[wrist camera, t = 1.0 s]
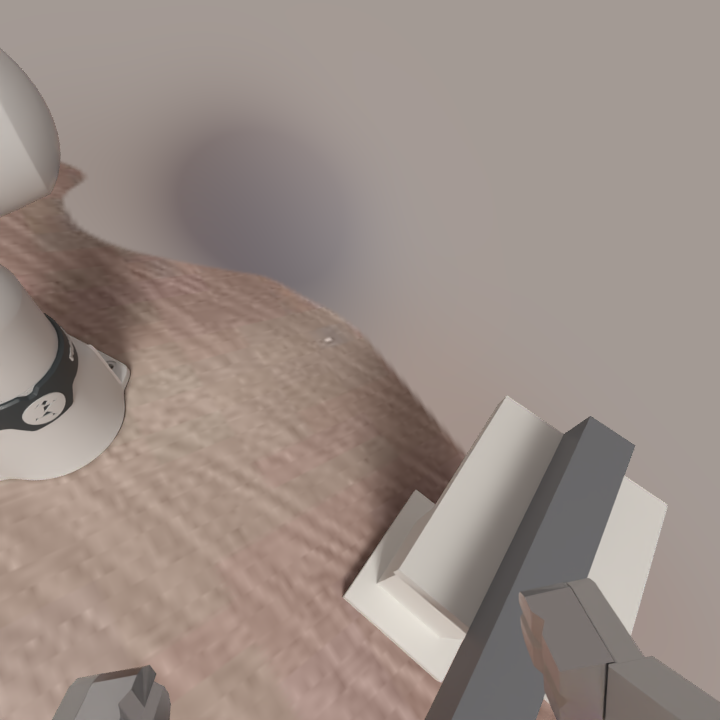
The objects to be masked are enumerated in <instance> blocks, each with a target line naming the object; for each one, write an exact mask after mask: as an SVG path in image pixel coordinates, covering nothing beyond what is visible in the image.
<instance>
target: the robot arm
mask: <svg viewBox="0 0 720 720" xmlns="http://www.w3.org/2000/svg"><path fill="white" fill-rule="evenodd" d="M59 168H60V143H59V138H58V133H57V129H56V126H55V123H54V120H53V117H52V115H51V113H50V110H49V108H48V106H47V105H46V103H45V101H44V99H43V97H42V96H41V94H40V92H39V91H38V89H37V88H36V86H35V85H34V84H33V82H32V81H31V80H30V78H29V77H28V76H27V74H26V73H25V72H24V71H23V70H22V69H21V68H20V67H19V66H18V64H17V63H16V62H15V61H14V60H13V59H12V58H11V57H10V56H8V55H7V54H6V53H5V52H4V51H3V50H2V49H1V48H0V217H2V216H5V215H7V214H9V213H11V212H14V211H16V210H18V209H20V208H22V207H24V206H26V205H29V204H31V203H33V202H35V201H37V200H39V199H41V198H43V197H45V196H47V195H49V194H50V193H51V192H52V190H53V188H54V186H55V183H56V180H57V177H58V173H59ZM111 367H114V368H113V369H111ZM129 377H130V370H129V369H128V368H127V366H126V365H125V364H123V363H121V362H119V361H117V360H116V359H114V358H112V357H110V356H108V355H106V354H104V353H102V352H101V351H99V350H97V349H95V348H94V347H93V346H92V345H90V344H89V345H87V344H85V343H84V342H82V341H80V340H78V339H76V338H74V337H72V336H70V335H69V334H67V333H66V332H65V331H64V329H63V328H62V327H61V326H59V325H58V324H57V323H56V322H55V321H54V320H53V319H52V318H51V317H49V316H48V315H47V314H45V313H43V312H42V311H41V309H40V308H39V307H38V306H37V304H36V303H35V302H34V300H33V299H32V298H31V296H30V295H29V294H28V292H27V291H26V290H25V289H24V287H23V286H22V285H21V283H20V282H19V281H18V279H17V278H16V277H15V276H14V274H13V273H11V272H10V271H9V270H8V269H7V268H5V267H4V266H2V265H1V264H0V481H2V480H5V479H24V480H45V479H51V478H56V477H60V476H63V475H66V474H69V473H71V472H74V471H76V470H78V469H80V468H82V467H83V466H85V465H87V464H88V463H90V462H91V461H93V460H94V459H95V458H97V457H98V456H99V455H100V454H101V453H102V452H103V451H104V450H105V449H106V448H107V447H108V446H109V445H110V444H111V442H112V441H113V440H114V438H115V437H116V435H117V433H118V431H119V429H120V427H121V425H122V422H123V418H124V412H125V402H124V389H125V387H126V385H127V382H128V380H129ZM519 604H520V606H521V609H522V611H523V614H522V615H521V616H520V621H521V629H522V633H523V637H524V641H525V644H526V647H527V650H528V652H529V655H530V657H531V660H532V662H533V665H534V667H535V668H537V669H538V670H539V671H540V672H541V673H543V678H544V691H545V694H546V696H547V698H548V701H549V703H550V705H551V708H552V710H553V712H554V715H555V717H556V719H557V720H720V702H719V701H718V700H716V699H715V698H713V697H712V696H710V695H709V694H707V693H706V692H705V691H703V690H702V689H700V688H699V687H697V686H696V685H694V684H693V683H691V682H690V681H688V680H687V679H685V678H684V677H683V676H681V675H680V674H678V673H677V672H675V671H674V670H672V669H671V668H669V667H668V666H666V665H665V664H663V663H662V662H661V661H659V660H658V659H656V658H655V657H653V656H650V657H644V655H643V654H642V652H641V651H640V649H639V648H638V646H637V645H636V643H635V642H634V640H633V639H632V637H631V636H630V634H629V633H628V631H627V630H626V628H625V627H624V625H623V624H622V622H621V621H620V619H619V617H618V616H617V614H616V613H615V611H614V610H613V608H612V607H611V605H610V604H609V602H608V601H607V599H606V598H605V596H604V595H603V593H602V592H601V590H600V589H599V587H598V586H597V584H596V583H595V582H594V581H593V580H591V579H590V578H585V579H580V580H576V581H571V582H566V583H564V582H562V583H558V584H553V585H548V586H544V587H539V588H534V589H530V590H525V591H521V592H520V593H519ZM155 676H156V673H155V672H154V670H153V669H152V668H151V666H150V665H147V666H142V667H136V668H131V669H125V670H120V671H115V672H109V673H102V674H97V675H92V676H87V677H82V678H77V679H76V680H75V682H74V683H73V684H72V685H71V686H70V687H69V688H68V690H67V692H66V694H65V696H64V698H63V700H62V702H61V704H60V706H59V707H58V709H57V711H56V713H55V715H54V717H53V719H52V720H170V706H171V703H170V699H169V694H168V692H167V690H166V689H165V687H164V686H162V685H160V684H158V683H156V682H154V679H155Z"/></svg>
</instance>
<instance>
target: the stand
mask: <svg viewBox="0 0 720 720" xmlns="http://www.w3.org/2000/svg"><path fill="white" fill-rule="evenodd" d="M563 435H564V434H563V433H561V432H560V431H558V430H557V429H555V428H554V427H553V426H551V425H550V424H548V423H547V422H545V421H544V420H542V419H541V418H539V417H537V416H536V415H535V414H533V413H532V412H530V411H529V410H528V409H526V408H525V407H523V406H522V405H520V404H519V403H517V402H516V401H514V400H513V399H511V398H510V397H508V396H506V397H505V398H504V399H503V400H502V401H501V402H500V403H499V404H498V406H497V407H496V409H495V410H494V412H493V413H492V415H491V417H490V418H489V420H488V421H487V423H486V425H485V426H484V428H483V429H482V431H481V433H480V434H479V436H478V438H477V439H476V440H475V442H474V444H473V445H472V447H471V449H470V450H469V452H468V453H467V455H466V456H465V458H464V460H463V461H462V463H461V464H460V466H459V468H458V469H457V471H456V472H455V474H454V476H453V477H452V479H451V480H450V482H449V484H448V485H447V487H446V488H445V490H444V491H443V493H442V495H441V496H440V498H439V499H438V501H437V503H436V504H434V503H433V502H432V501H430V500H429V499H428V498H426V497H425V496H424V495H423V494H421V493H420V492H419V491H417V490H415V491H414V492H413V493H412V495H411V496H410V498H409V499H408V501H407V502H406V504H405V505H404V506H403V508H402V509H401V511H400V512H399V514H398V515H397V517H396V518H395V520H394V521H393V523H392V524H391V526H390V527H389V529H388V530H387V532H386V533H385V535H384V536H383V538H382V539H381V541H380V542H379V544H378V545H377V547H376V548H375V550H374V551H373V553H372V554H371V556H370V557H369V559H368V560H367V561H366V563H365V564H364V566H363V567H362V569H361V570H360V572H359V573H358V575H357V576H356V578H355V579H354V581H353V582H352V584H351V585H350V587H349V588H348V590H347V591H346V593H345V594H344V596H343V598H344V599H345V600H346V601H347V602H348V603H350V604H351V605H352V606H353V607H354V608H355V609H356V610H357V611H359V612H360V613H361V614H362V615H363V616H364V617H365V618H366V619H368V620H369V621H370V622H371V623H372V624H373V625H374V626H376V627H377V628H378V629H379V630H380V631H381V632H382V633H383V634H385V635H386V636H387V637H388V638H389V639H390V640H391V641H392V642H394V643H395V644H396V645H397V646H398V647H399V648H400V649H402V650H403V651H404V652H405V653H406V654H407V655H408V656H409V657H411V658H412V659H413V660H414V661H415V662H416V663H417V664H418V665H420V666H421V667H422V668H423V669H424V670H425V671H426V672H427V673H429V674H430V675H431V676H432V677H433V678H434V679H435V680H437V681H439V682H441V683H442V681H443V679H444V677H445V675H446V673H447V671H448V669H449V667H450V665H451V663H452V661H453V659H454V657H455V655H456V652H457V650H458V648H459V646H460V644H461V642H462V640H464V638H465V636H466V634H467V632H468V630H469V628H470V626H471V624H472V622H473V620H474V618H475V615H476V613H477V611H478V609H479V607H480V605H481V603H482V601H483V599H484V597H485V595H486V593H487V591H488V589H489V587H490V585H491V583H492V581H493V579H494V577H495V574H496V572H497V570H498V568H499V566H500V564H501V562H502V560H503V558H504V556H505V554H506V552H507V550H508V548H509V546H510V544H511V542H512V540H513V538H514V536H515V533H516V531H517V529H518V527H519V525H520V523H521V521H522V519H523V517H524V515H525V513H526V511H527V509H528V507H529V505H530V503H531V501H532V499H533V497H534V494H535V492H536V490H537V488H538V486H539V484H540V482H541V480H542V478H543V476H544V474H545V472H546V470H547V468H548V466H549V464H550V462H551V460H552V458H553V456H554V453H555V451H556V449H557V447H558V445H559V443H560V441H561V439H562V437H563ZM667 506H668V505H667V504H666V503H664V502H663V501H661V500H660V499H658V498H657V497H655V496H654V495H652V494H651V493H649V492H648V491H646V490H645V489H644V488H642V487H641V486H639V485H637V484H636V483H635V482H633V481H632V480H630V479H629V478H627V477H626V476H624V478H623V481H622V483H621V486H620V489H619V492H618V494H617V497H616V500H615V503H614V505H613V508H612V511H611V514H610V516H609V519H608V522H607V525H606V527H605V530H604V533H603V536H602V538H601V541H600V544H599V547H598V549H597V552H596V555H595V558H594V560H593V563H592V566H591V569H590V571H589V574H588V577H587V578H590V579H591V580H593V581H594V582H595V583H596V584H597V586H598V587H599V589H600V590H601V592H602V593H603V595H604V596H605V598H606V599H607V601H608V602H609V604H610V605H611V607H612V608H613V610H614V611H615V613H616V614H617V616H618V617H619V619H620V621H621V622H622V624H623V625H624V627H625V628H626V630H627V631H628V633H629V634H630V636H631V633H632V630H633V626H634V623H635V619H636V616H637V612H638V608H639V605H640V602H641V598H642V594H643V591H644V588H645V583H646V580H647V577H648V573H649V570H650V566H651V563H652V559H653V556H654V552H655V549H656V545H657V541H658V538H659V534H660V531H661V527H662V524H663V520H664V517H665V513H666V510H667ZM543 699H544V700H545V701H547V702H548V703H549V701H548V698H547V696H546V694H545V695H544V698H543ZM549 704H550V703H549Z"/></svg>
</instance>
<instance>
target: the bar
mask: <svg viewBox="0 0 720 720" xmlns="http://www.w3.org/2000/svg"><path fill="white" fill-rule="evenodd" d="M634 447H635V445H634V444H632V443H631V442H629V441H628V440H626V439H624V438H623V437H621V436H620V435H618V434H617V433H615V432H614V431H612V430H611V429H609V428H608V427H606V426H605V425H603V424H602V423H600V422H599V421H597V420H596V419H594V418H593V417H591V416H590V417H588V418H587V419H585V420H584V421H582V422H581V423H580V424H578V425H577V426H575V427H574V428H572V429H571V430H570V431H568V432H566V433H565V434H564V435H563V437H562V439H561V441H560V443H559V445H558V447H557V449H556V451H555V453H554V456H553V458H552V460H551V462H550V464H549V466H548V468H547V470H546V472H545V474H544V476H543V478H542V480H541V482H540V484H539V486H538V488H537V490H536V492H535V494H534V497H533V499H532V501H531V503H530V505H529V507H528V509H527V511H526V513H525V515H524V517H523V519H522V521H521V523H520V525H519V527H518V529H517V531H516V533H515V536H514V538H513V540H512V542H511V544H510V546H509V548H508V550H507V552H506V554H505V556H504V558H503V560H502V562H501V564H500V566H499V568H498V570H497V572H496V574H495V577H494V579H493V581H492V583H491V585H490V587H489V589H488V591H487V593H486V595H485V597H484V599H483V601H482V603H481V605H480V607H479V609H478V611H477V613H476V615H475V618H474V620H473V622H472V624H471V626H470V628H469V630H468V632H467V634H466V636H465V638H464V640H463V642H462V644H461V646H460V648H459V650H458V652H457V654H456V656H455V659H454V661H453V663H452V665H451V667H450V669H449V671H448V673H447V675H446V677H445V679H444V681H443V683H442V685H441V687H440V689H439V691H438V693H437V695H436V697H435V700H434V702H433V704H432V706H431V708H430V710H429V712H428V714H427V716H426V718H425V720H536V718H537V715H538V712H539V709H540V707H541V704H542V701H543V698H544V695H545V691H544V678H543V673H541V672H540V671H539V670H538V669H537V668H535V667H534V665H533V662H532V660H531V657H530V655H529V652H528V650H527V647H526V644H525V641H524V637H523V633H522V629H521V621H520V616H521V615H522V614H523V611H522V609H521V606H520V604H519V593H520V592H521V591H525V590H530V589H534V588H539V587H544V586H548V585H553V584H558V583H562V582H564V583H566V582H571V581H576V580H580V579H585V578H587V577H588V574H589V571H590V569H591V566H592V563H593V560H594V558H595V555H596V552H597V549H598V547H599V544H600V541H601V538H602V536H603V533H604V530H605V527H606V525H607V522H608V519H609V516H610V514H611V511H612V508H613V505H614V503H615V500H616V497H617V494H618V492H619V489H620V486H621V483H622V481H623V478H624V475H625V472H626V469H627V467H628V464H629V461H630V458H631V456H632V453H633V450H634Z"/></svg>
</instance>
